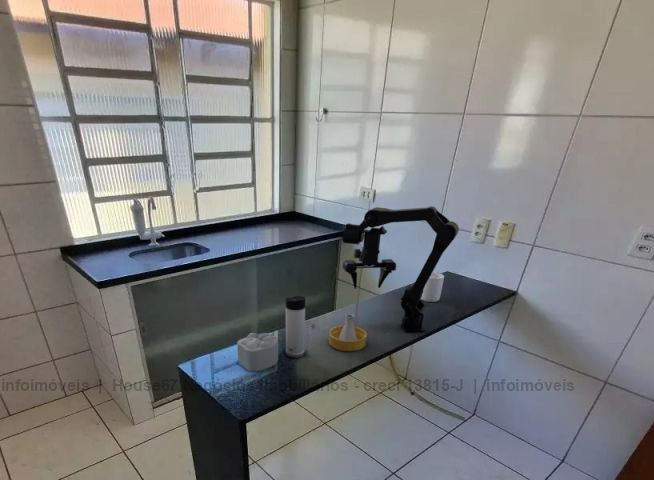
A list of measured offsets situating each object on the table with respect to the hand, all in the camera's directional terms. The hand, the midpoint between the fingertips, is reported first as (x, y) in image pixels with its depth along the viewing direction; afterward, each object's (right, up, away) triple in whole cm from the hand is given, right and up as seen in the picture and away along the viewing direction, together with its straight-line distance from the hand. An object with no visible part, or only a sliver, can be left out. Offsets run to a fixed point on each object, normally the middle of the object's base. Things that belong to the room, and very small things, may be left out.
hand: (367, 288), depth 154 cm
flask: (-9, -22, -11) cm, 26 cm away
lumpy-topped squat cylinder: (-39, -29, -21) cm, 53 cm away
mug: (+34, +2, +27) cm, 44 cm away
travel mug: (-28, -26, -17) cm, 42 cm away
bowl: (-9, -22, -11) cm, 26 cm away
